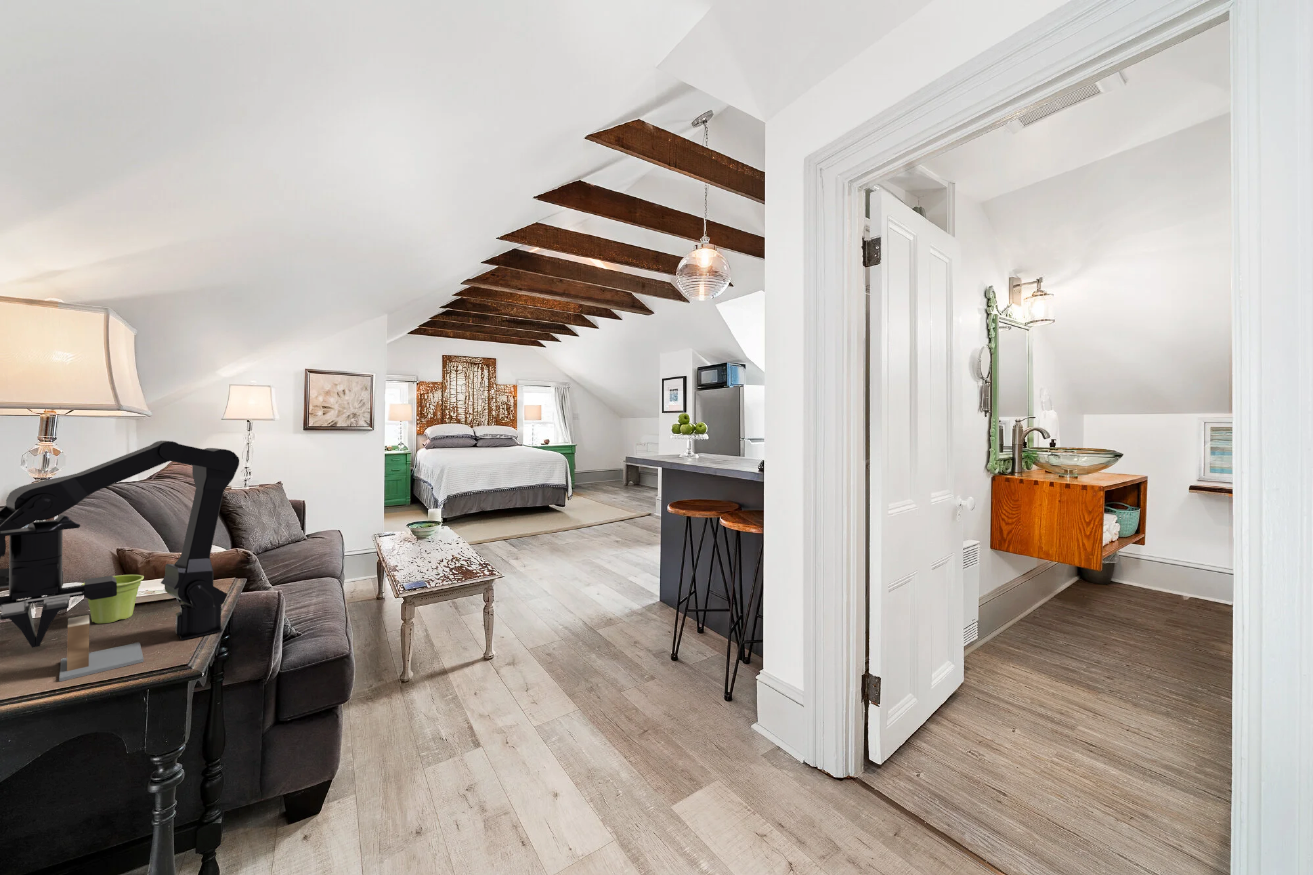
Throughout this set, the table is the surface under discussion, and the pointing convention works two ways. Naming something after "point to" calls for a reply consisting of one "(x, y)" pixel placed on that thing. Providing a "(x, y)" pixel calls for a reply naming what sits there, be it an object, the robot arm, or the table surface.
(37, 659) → the table surface
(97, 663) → the mat
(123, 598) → the plant pot
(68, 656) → the slab
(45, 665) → the table surface
